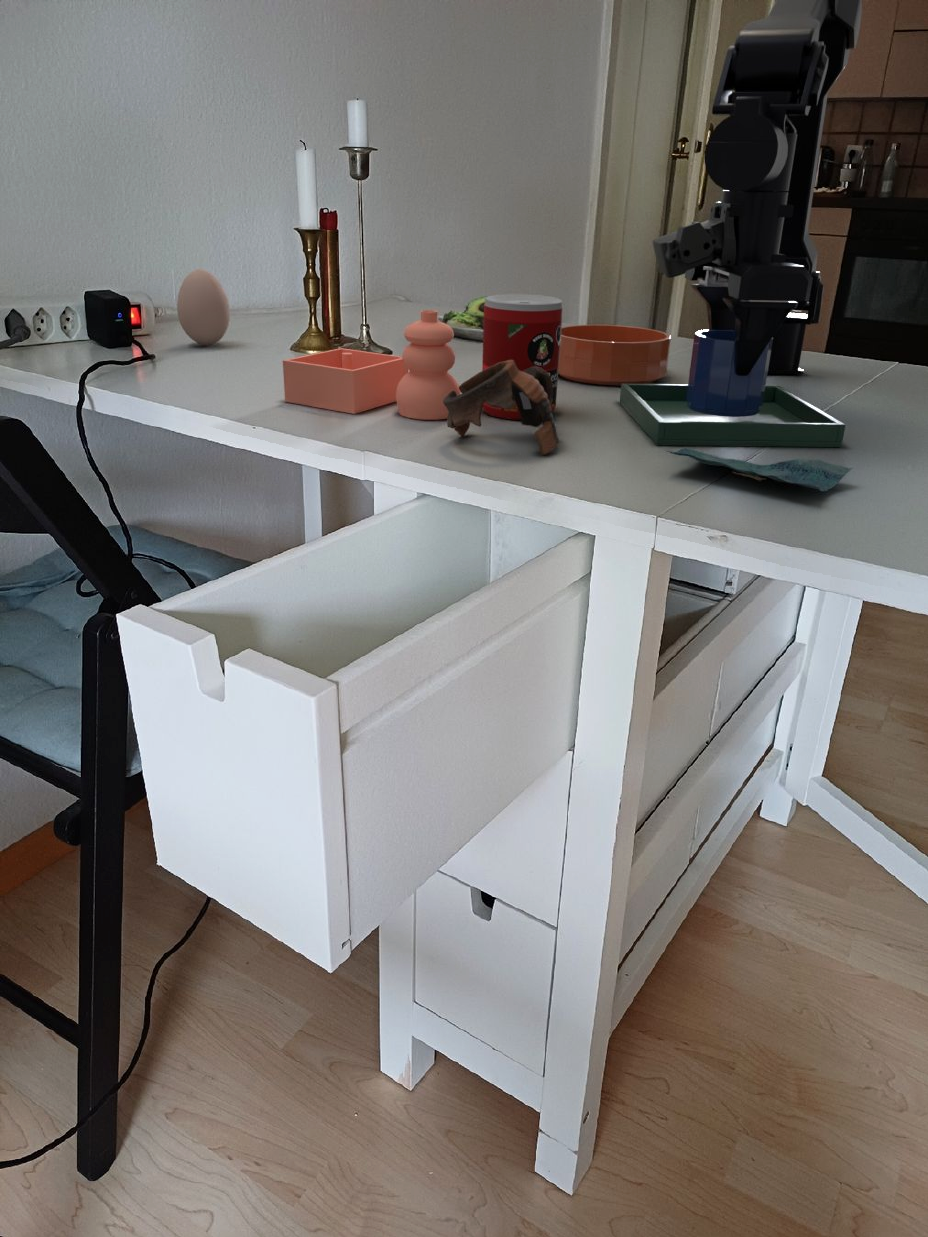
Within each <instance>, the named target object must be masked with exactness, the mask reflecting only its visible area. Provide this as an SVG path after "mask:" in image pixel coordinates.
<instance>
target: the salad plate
mask: <svg viewBox="0 0 928 1237" xmlns="http://www.w3.org/2000/svg"><path fill="white" fill-rule="evenodd" d="M488 296H489V295H487V296H486V295H485V296H481V297H479V298H478V297H477V298H474V299H473V300H470V301H469V302H468V303H467V304H466V305H465V306H464V307H465V309H464V311H461V312H460V311H456V312H455V310H450V311H449V312H447V313H444V314H443V315H437V321H439V322H442V323H445V324H447V325H448V326H450V327H451V328H452V329H453V333H454V337H455V338H462V339H467V340H468V339H469V340H474V341H480V342H481V341H482V342H483V324H484V304H485V298H486V297H488Z"/></svg>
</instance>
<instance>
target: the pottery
mask: <svg viewBox="0 0 928 1237" xmlns="http://www.w3.org/2000/svg"><path fill="white" fill-rule="evenodd" d="M438 313H439V312H438V310H435V309H433V310H432V309H423V310H420V320H417V321H414V322H412V323H410V324H409V325H408V326H407V327H405V329H404V331H403V332H404V333H403V336H404V337H405V340H406V341H407V342H409V344H407V345H406V346H405V347H404V349H403V352H402V355H401V356H400V355H392V354H387V353H378V352H371V351H365V350H357V349H349V348H342V347H339V348H334V349H330V350H325V351H321V352H315V353H310V354H307V355H302V356H296V357H292V358H287V359H283V360H282V374H283V375H282V376H283V389H284V402H286V403H290V404H291V403H292V404H297V405H302V406H307V407H313V408H320V409H325V410H330V411H334V412H335V411H336V412H342V413H347V414H353V415H355V414H358V413H361V412H365V411H369V410H372V409H375V408H378V407H382V406H386V405H389V404H391V403H395V402H396V405H397V409H398V414H399V415H400V416H402V417H405V418H408V419H414V420H425V421H426V420H427V421H428V420H429V421H435V420H436V421H437V420H447V418H448V413H449V411H448V409H447V408H446V406H445V405H444V404H443V400H444V398H445V397H446V396H447V395H448V394H449V393H450V392H451V391H455V392H456V395H457V396H458V395H460V394H462V393H461V392H460V390H459V386H460V385H459V382H458V381H457V379H456V378H455V377H454V376H453V375H452V374H451V373H449V371H450V370H451V369H452V368H453V367H454V365H455V363H456V353H455V350H454V348H453V347H452V346H451V345H449V343H450V342H451V341H452V340H453V338H454V337H455V336H454V333H453V329H452V328H451V327H450V326H448V325H447V324H445V323H442V322H439V321H437V316H439V315H438Z"/></svg>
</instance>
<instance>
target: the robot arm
mask: <svg viewBox="0 0 928 1237" xmlns="http://www.w3.org/2000/svg"><path fill="white" fill-rule="evenodd" d="M862 13H863V0H774V3H773V6H772V8H771V9H770V11H769V13H768V15H767V17H765V18H761V19H760V18H759V19H757V20H754V21H750V22H748V23H747V24H746V25H745V26H744V27H742V29H741V30H740V31H739V32H738V33H737V36H736V39H735V42H734V43H731V44H729V46H728V48H727V51H726V53H725V54H726V55H725V59H724V61H723V66H722V70H721V74H720V78H719V81H718V84H717V89H716V93H715V96H714V100H713V104H712V109H711V114H712V115H713V116H726V117H725V118H724V119H723V120H721V121H720V122H719V123H718V124H717V125H716V126H715V128H714V129H713V131H712V132H711V133H710V135H709V137H708V139H707V142H706V144H705V147H704V152H703V153H704V154H703V155H704V156H703V158H704V165H705V170H706V173H707V174H708V176H709V177H710V179H711V181H712V182H713V183H714V184H715V186H718V187H719V188H721V189H722V193H721V200H720V201H715V202H714V204H713V205H711V207H710V212H709V218H708V220H706V221H702V222H699V221H691V224H688V225H684V226H683V225H681V226H678V228H677V230H675V231H673V232H670V233H667V234H665V235H661V236H659V237H657V238H653V240H652V246H653V250H654V254H655V259H656V263H657V267H658V272H659V275H660V276H662V275H665V277H666V278H668V279H672V278H675V277H679V276H682V275H684V279H686V280H689V281H692V282H693V281H694V282H695V281H696V282H697V281H698V283H690V288H691V289H692V290H693V291H694V292H695V293H696V294H697V295H698V296H699V297H700V298H701V299H702V301H703V302H704V303H705V307H706V314H707V321H708V327H709V329H708V330H736V338H735V365H736V374H737V375H738V376H747V375H749V373H750V372H751V370H752V368H753V367H754V365H755V364H756V362H757V361H758V359H759V357H760V356H761V354H762V353H763V351H764V350H765V348H766V347H767V345H768V343H769V342H770V340H771V339H772V337H773V342H772V348H771V355H770V361H769V367H768V373H767V375H771V374H772V375H773V374H775V375H784V374H785V375H803V374H804V371H805V370H804V369H802V368H800V363H801V357H802V351H803V346H804V340H805V333H806V329H807V325H808V326H811V325H815V324H817V325H818V324H819V323H820V318H821V311H822V306H823V296H824V290H825V285H824V283H823V282H822V278H821V272H820V271H817V264H818V257H819V253H818V250H817V248H816V246H815V244H814V241H813V240H812V237H811V235H810V233H809V225H810V219H811V212H812V205H813V198H814V191H815V184H816V176H817V172H818V163H819V156H820V151H821V149H820V148H821V143H822V135H823V128H824V122H825V117H826V109H827V102H828V95H829V92H830V90H831V88H833V85H834V84H835V83H836V82H837V79H838V78H839V76H840V75H841V74H842V72H844V69H845V68H846V66H847V64H848V63H849V56H850V52H851V50H855V49H856V47H857V45H858V39H859V35H860V29H861V22H862ZM727 116H728V117H727ZM795 312H807V314H806V313H795Z"/></svg>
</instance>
